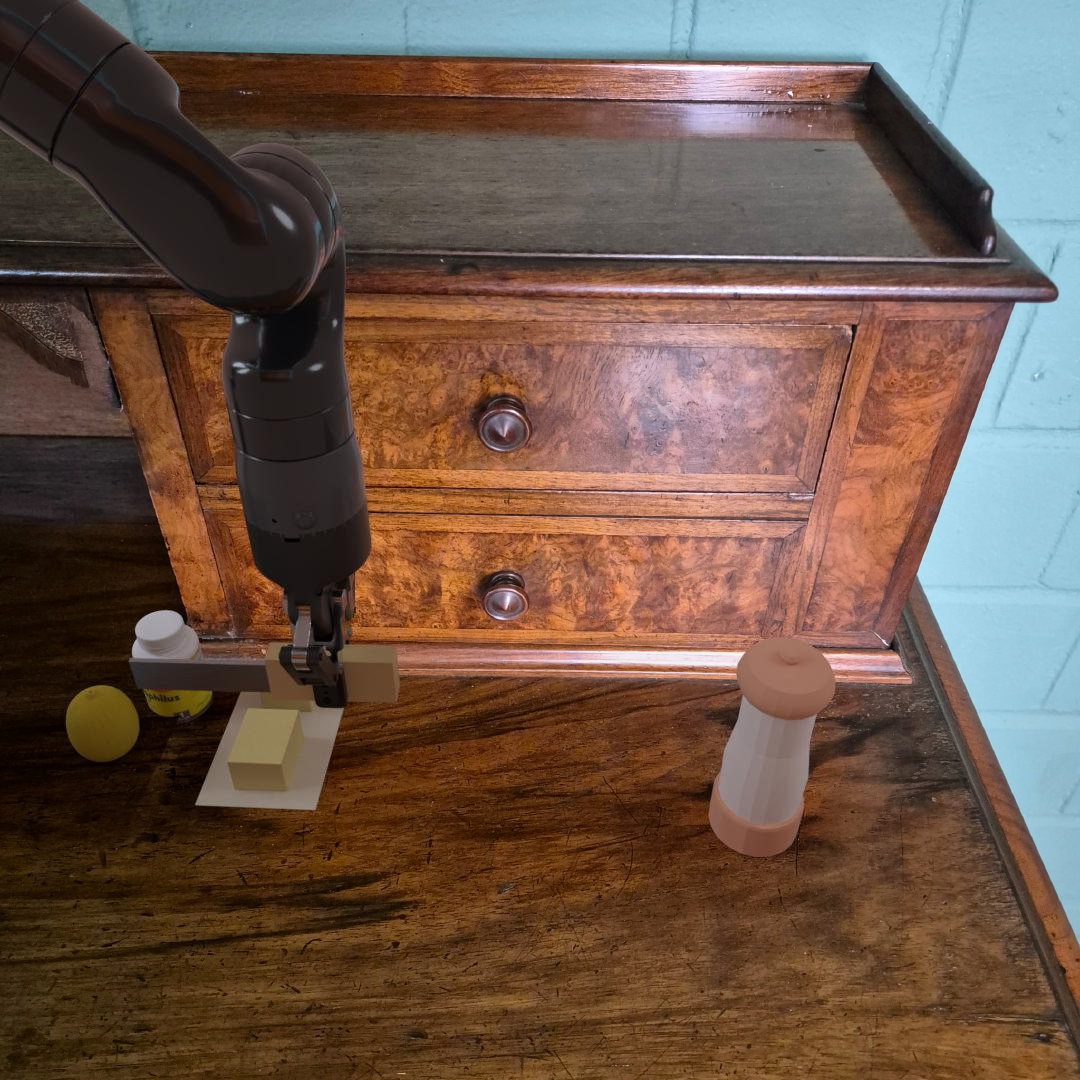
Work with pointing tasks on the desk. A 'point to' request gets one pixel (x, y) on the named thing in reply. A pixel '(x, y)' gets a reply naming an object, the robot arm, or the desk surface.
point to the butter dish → (306, 773)
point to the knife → (274, 674)
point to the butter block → (266, 749)
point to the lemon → (102, 723)
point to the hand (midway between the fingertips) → (335, 692)
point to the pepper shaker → (770, 746)
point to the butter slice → (285, 703)
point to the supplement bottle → (170, 641)
